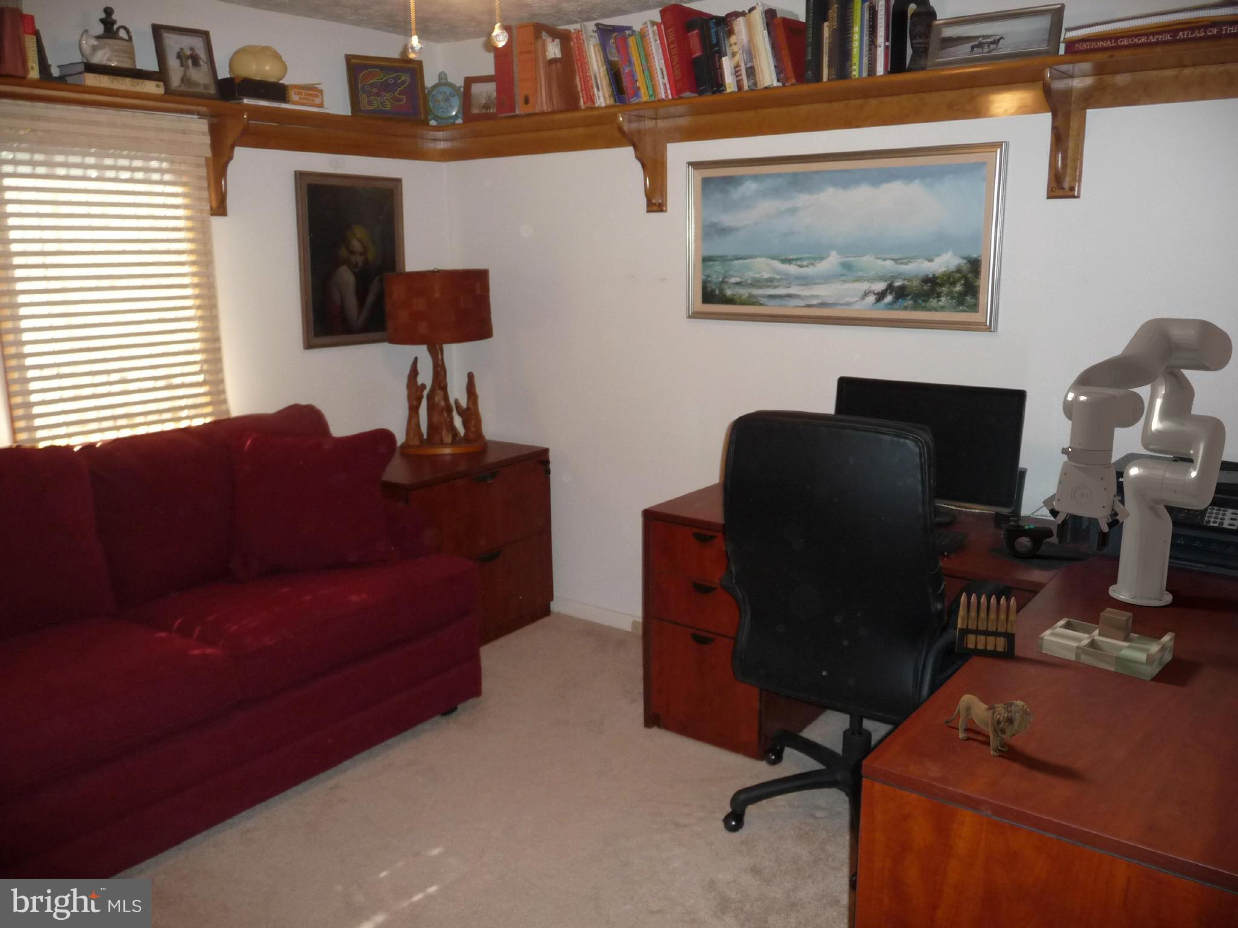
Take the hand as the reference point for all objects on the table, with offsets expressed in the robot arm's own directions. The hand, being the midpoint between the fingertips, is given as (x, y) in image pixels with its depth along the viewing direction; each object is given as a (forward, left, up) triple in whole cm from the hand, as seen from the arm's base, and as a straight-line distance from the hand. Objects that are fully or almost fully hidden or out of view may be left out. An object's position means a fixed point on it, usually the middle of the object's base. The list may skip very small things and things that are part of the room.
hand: (1081, 545), depth 189 cm
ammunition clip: (+18, -10, -20) cm, 29 cm away
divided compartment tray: (+3, +7, -20) cm, 21 cm away
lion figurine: (+53, +5, -20) cm, 57 cm away
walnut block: (0, +8, -17) cm, 18 cm away
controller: (-51, -29, -20) cm, 62 cm away
